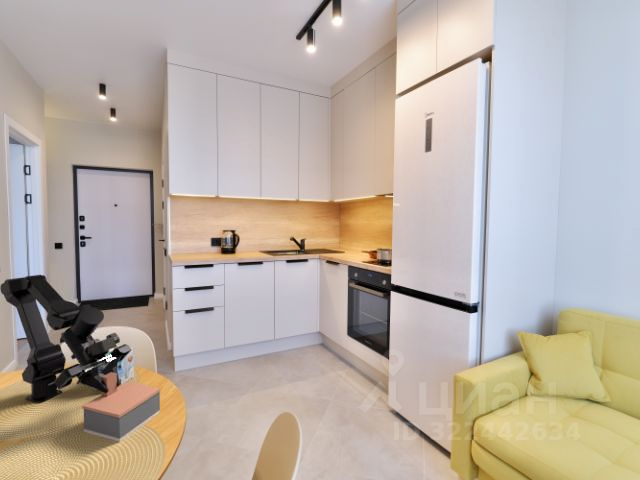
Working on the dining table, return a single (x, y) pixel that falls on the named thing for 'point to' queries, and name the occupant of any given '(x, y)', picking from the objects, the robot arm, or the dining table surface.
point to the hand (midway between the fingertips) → (113, 389)
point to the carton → (121, 420)
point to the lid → (120, 397)
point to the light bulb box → (122, 367)
